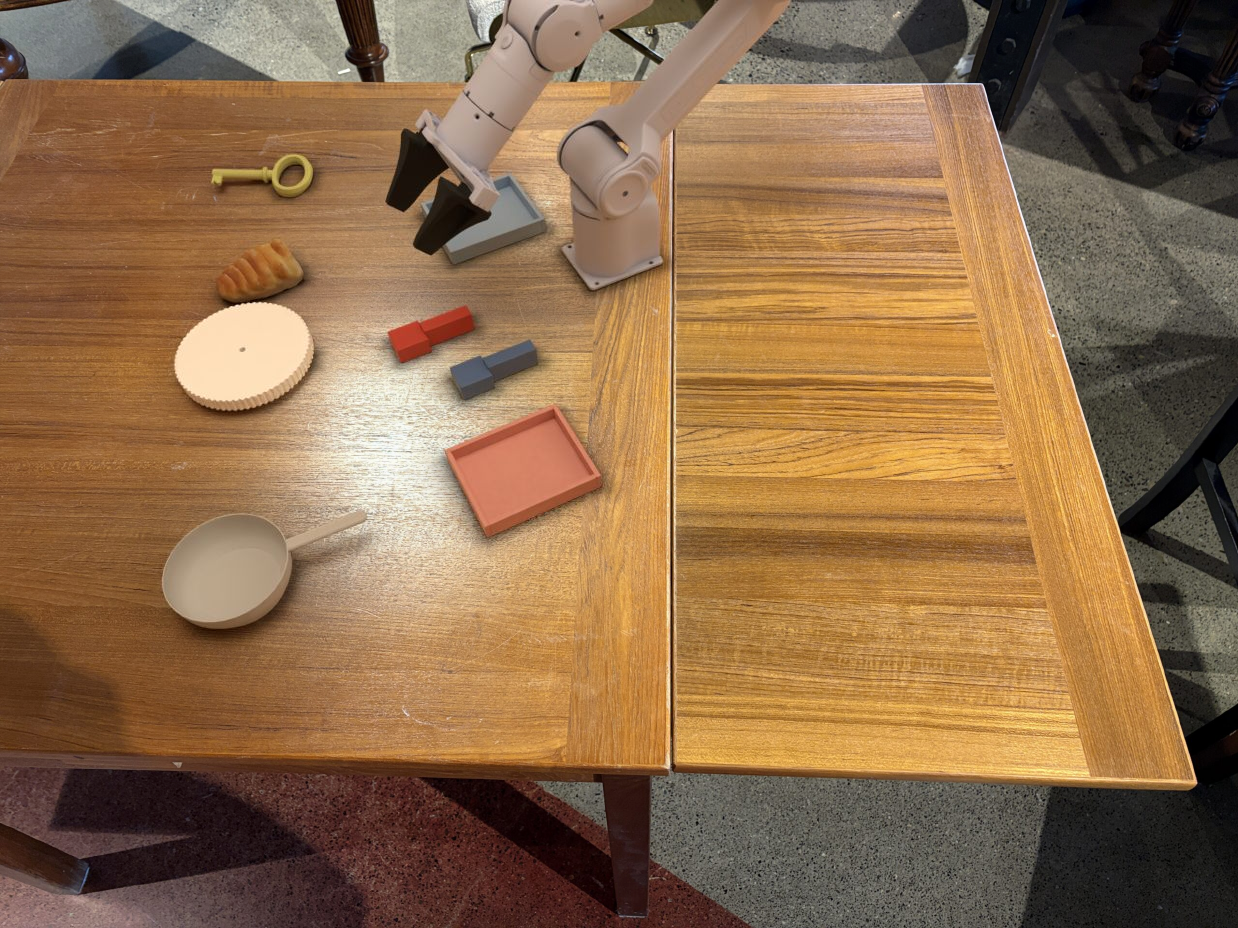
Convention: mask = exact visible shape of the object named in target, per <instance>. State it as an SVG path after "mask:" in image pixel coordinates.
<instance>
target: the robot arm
mask: <svg viewBox="0 0 1238 928" xmlns="http://www.w3.org/2000/svg"><path fill="white" fill-rule="evenodd" d="M654 1H655V0H505V1H504V4H503V9H502V23H501V26H500V28H499V30H498V31H497V32H496V34H495V36H494V39H495V41H494V43H493V44H492V46H491V47H490V49H489V50H488V52H487V53H486V55H485V57H484V58H483V59H482V60H481V62H480V64H479V65H478V67H476V69H475V71H474V73H473V74H472V76H471V77H470V78H469V80H468V82H467V83H466V84H465V86H464V87H463V88H462V91H461V92H460V93H459V95H458V96H457V98H456V99H455V100H454V102H453V104H452V105H451V107H450V108H449V109H448V111H447V113H446V114H445V116H444V117H443V119H442V117H440V116H438V115H437V114H435V113H434V112H432V111H430V110H429V109H427V108H425V109H424V110H423V112H422V113H421V115H420V116H419V118H418V119H417V121H416V122H415V123H414V125H415V127H416V128H417V130H418V131H416V132H414V131H412V130H410V129H408V128H405V127H404V128H403V129H402V131H401V132H400V145H399V154H398V159H397V162H396V163H397V164H396V166H395V167H396V168H395V171H394V173H393V177H392V179H391V183H390V186H389V189H388V191H387V194H386V198H385V203H386V205H387V206H389V207H391V208H393V209H396V210H397V211H400V212H402V213H405V212H407V210H408V209H410V208H411V207H412V206H413V205H414V203H415V202H416V201H417V200H418V198H419V197H420V196H421V195H422V193H423V192H424V191H425V189H426V188H427V187H428V186H430V184H431V183H432V182H433V181H434V180H435V179H437V178H438V177H439V178H438V180H437V185H436V191H435V195H434V197H433V199H434V201H433V203H432V206H431V208H430V211H429V213H428V215H427V217H426V219H425V218H424V220H423V221H422V224H420V227H419V229H418V230H417V233H416V234H415V236H414V239H413V242H412V247H413V248H414V249H415V250H418V251H420V252H421V253H424V254H425V255H428V256H430V257H431V256H433V255H434V254H435V253H437V252H438V251H439V250H440V249H441V248H443V247H442V246H444V245H445V244H446V243H447V242H449V241H450V240H451V239H452V238H454V237H455V236H456V235H458V234H459V233H461V232H462V231H464V230H466V229H468V228H470V227H472V226H474V225H476V224H478V223H480V222H483V221H486V220H488V219H489V218H490V216H491V215H492V213H491V211H490V209H491V208H492V206H493V205H494V204H495V202H496V201H497V199H498V198H499V197H500V194H499V193H498V191H497V190H496V188H495V186H494V184H493V181H492V179H493V177H492V176H491V173H490V170H489V167H490V166H491V165H492V163H493V162H494V161H495V160H496V158H497V156H498V155H499V154H500V152H501V151H502V150H503V148H504V147H505V145H506V144H507V143H508V141H509V139H510V138H511V137H512V135H513V134H514V132H515V131H516V130H517V128H518V126H519V125H520V124H521V122H522V121H523V120H524V118H525V117H526V115H527V114H528V113H529V111H530V110H531V108H532V107H533V106H534V105H535V103H536V101H537V100H538V98H539V97H540V96H541V94H542V92H543V91H544V90H545V88H546V87H547V86H548V84H549V83H550V81H551V80H552V79H553V77H554V76H555V74H556V73H561V72H566V71H568V70H572V69H573V68H577V67H579V66H580V65H581V64H582V63H583V62H584V61H585V59H586V58H587V57H588V54H590V51H591V49H592V47H593V46H594V45H595V44H596V43H597V42H599V41H600V38H601V37H602V36H603V34H604V33H606V32H608V31H610V30H611V29H613V28H615V27H617V26H618V25H620V24H622V23H623V22H625V21H627V20H629V19H630V18H631V17H634V16H636V15H638V14H639V13H641V12H642V11H644V10H646V9H647V8H649V7H651V6H652V5H653V4H654ZM792 1H793V0H717V1H716V2H715V3H714V4H713V5H712V7H711V8H709V10H708V11H707V12H706V13H705V14H704V15H703V16H702V18H701V19H700V20H699V21H697V23H696V24H695V25H694V26H693V28H692V29H691V30H689V32H688V33H687V34H686V35H685V36H684V37H683V38H682V39H681V40H680V42H678V43H677V45H676V46H675V47H674V48H673V49H672V50H671V52H669V54H668V55H667V56H666V57H665V58H664V59H663V60H662V61H661V62H660V63H659V65H658V66H656V68H655V69H654V70H653V71H652V73H650V75H648V76H647V78H646V79H645V80H644V81H643V82H642V83H641V84H640V85H639V87H638V88H636V90H634V92H633V93H632V94H631V95H630V96H629V98H628V99H627V100H626V101H625V102H624V103H621V104H615V105H605V106H599V107H597V108H596V109H595V111H593V113H592V114H591V115H590V116H588V117H587V118H586V119H584V120H583V121H581V122H577V123H576V124H574V125H573V126H571V127H570V128H569V129H568V130H567V131H566V132H565V133H564V135H563V136H562V138H561V139H560V141H559V143H558V146H557V149H556V161H557V164H558V166H559V168H560V169H561V171H563V172H564V173H565V174H566V175H567V176H568V179H569V187H570V192H569V195H570V196H569V197H570V207H571V208H570V209H571V221H572V222H571V223H572V232H573V234H572V235H573V242H571V243H569V244H566V245H563V246H561V252H562V254H563V255H564V256H565V258H566V259H567V260H568V262H569V263H570V265H571V266H572V267H573V269H574V270H575V271H576V272H577V274H578V276H579V277H580V278H581V279H582V281H583V282H584V284H585V285H586V286H587V288H588V289H589V290H590V291H596V290H599V289H602V288H604V287H607V286H609V285H612V284H614V283H617V282H620V281H621V280H625V279H627V278H629V277H632V276H635V275H637V274H640V273H642V272H645V271H649V270H651V269H653V268H656V267H659V266H661V265H662V264H663V263H664V259H663V258H662V256H661V211H660V206H659V202H658V199H657V196H656V194H655V192H654V190H653V188H652V187H651V186H652V185H653V183H654V182H655V181H656V180H657V178H659V177H660V176H661V174H662V172H663V161H662V151H661V150H662V143H663V142H664V141H665V139H667V138H668V137H669V135H670V134H671V133H672V132H673V131H674V130H675V129H676V128H677V127H678V126H679V125H680V123H682V122H683V120H685V118H687V116H688V115H689V114H690V113H691V112H692V111H693V110H694V109H695V107H697V105H699V103H700V102H701V101H702V100H703V99H704V98H706V96H707V95H708V94H709V92H711V91H712V90H713V89H714V87H715V86H716V85H717V84H718V83H719V82H720V81H721V80H722V79H723V78H724V77H725V76H726V74H728V72H729V71H730V70H731V69H732V68H733V67H734V66H735V65H736V64H737V63H738V62H739V61H740V60H741V58H743V57H744V56H745V54H746V53H747V52H748V51H749V50H750V49H751V48H752V47H753V46H754V45H755V44H756V43H757V41H759V39H761V38H762V36H763V35H764V34H765V33H766V32H767V31H768V30H769V29H770V27H772V26H773V24H774V23H775V22H776V21H778V19H779V18H780V17H781V16H782V15H783V14H784V13H785V11H786V10H787V8H788V7H789V6H790V4H791V2H792ZM619 143H622V144H624V145H625V146H626V147H628V152H627V151H626V150H625V149H624V148H623V146H621V145H620V144H619ZM448 169H450V170H451V172H452V173H453V174H454V176H455V178H456V179H457V180H458V181H459V184H456V183H454V182H453V181H451V180H449V179H447V178H445V177H443V175H442V176H440V175H441V174H443V173H444V172H445V171H447V170H448Z"/></svg>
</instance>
